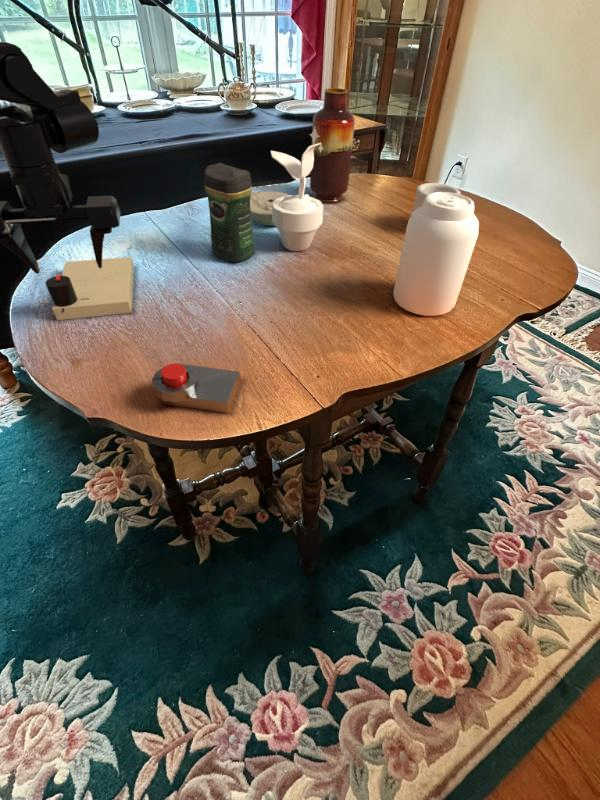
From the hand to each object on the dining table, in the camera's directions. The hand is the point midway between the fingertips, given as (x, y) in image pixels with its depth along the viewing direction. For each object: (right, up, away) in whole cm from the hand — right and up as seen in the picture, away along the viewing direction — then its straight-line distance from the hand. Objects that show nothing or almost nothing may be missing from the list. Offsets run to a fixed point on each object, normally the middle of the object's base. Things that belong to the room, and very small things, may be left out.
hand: (69, 269), depth 69 cm
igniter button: (+18, -18, -6) cm, 26 cm away
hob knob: (-6, -3, +10) cm, 12 cm away
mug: (+71, +25, +46) cm, 88 cm away
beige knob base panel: (-4, 0, +17) cm, 17 cm away
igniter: (+22, -20, -2) cm, 29 cm away
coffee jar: (+21, +13, +31) cm, 40 cm away
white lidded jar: (+62, -1, +19) cm, 65 cm away
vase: (+45, +39, +59) cm, 83 cm away
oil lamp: (+26, +28, +47) cm, 61 cm away
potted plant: (+35, +16, +35) cm, 53 cm away
